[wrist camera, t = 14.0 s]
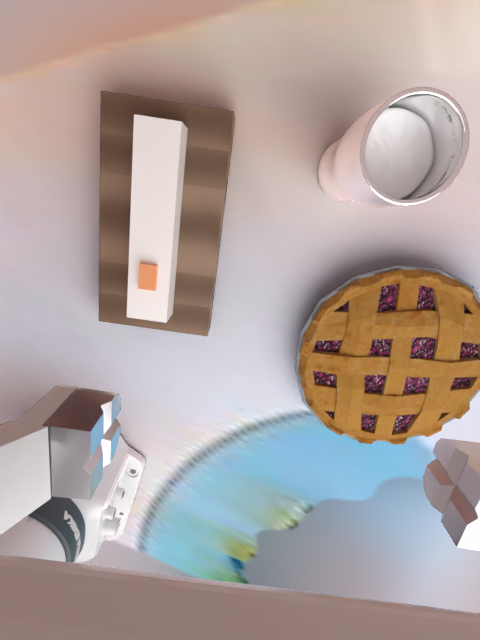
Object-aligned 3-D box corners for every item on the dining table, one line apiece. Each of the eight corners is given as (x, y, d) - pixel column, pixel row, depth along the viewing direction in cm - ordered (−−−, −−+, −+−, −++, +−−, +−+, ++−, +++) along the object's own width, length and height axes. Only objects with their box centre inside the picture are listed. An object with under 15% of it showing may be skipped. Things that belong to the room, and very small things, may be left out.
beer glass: (383, 200, 36) (470, 198, 22) (316, 211, 37) (359, 217, 22) (381, 125, 34) (477, 71, 20) (310, 138, 34) (353, 94, 20)
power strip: (177, 307, 40) (165, 324, 34) (142, 302, 40) (124, 319, 34) (191, 133, 34) (180, 119, 28) (151, 127, 34) (131, 112, 28)
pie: (295, 431, 46) (300, 458, 41) (287, 269, 39) (292, 278, 34) (464, 421, 45) (490, 447, 40) (487, 251, 38) (522, 258, 33)
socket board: (209, 326, 41) (207, 336, 38) (109, 312, 41) (98, 321, 38) (235, 118, 34) (234, 111, 31) (113, 99, 34) (100, 90, 31)
